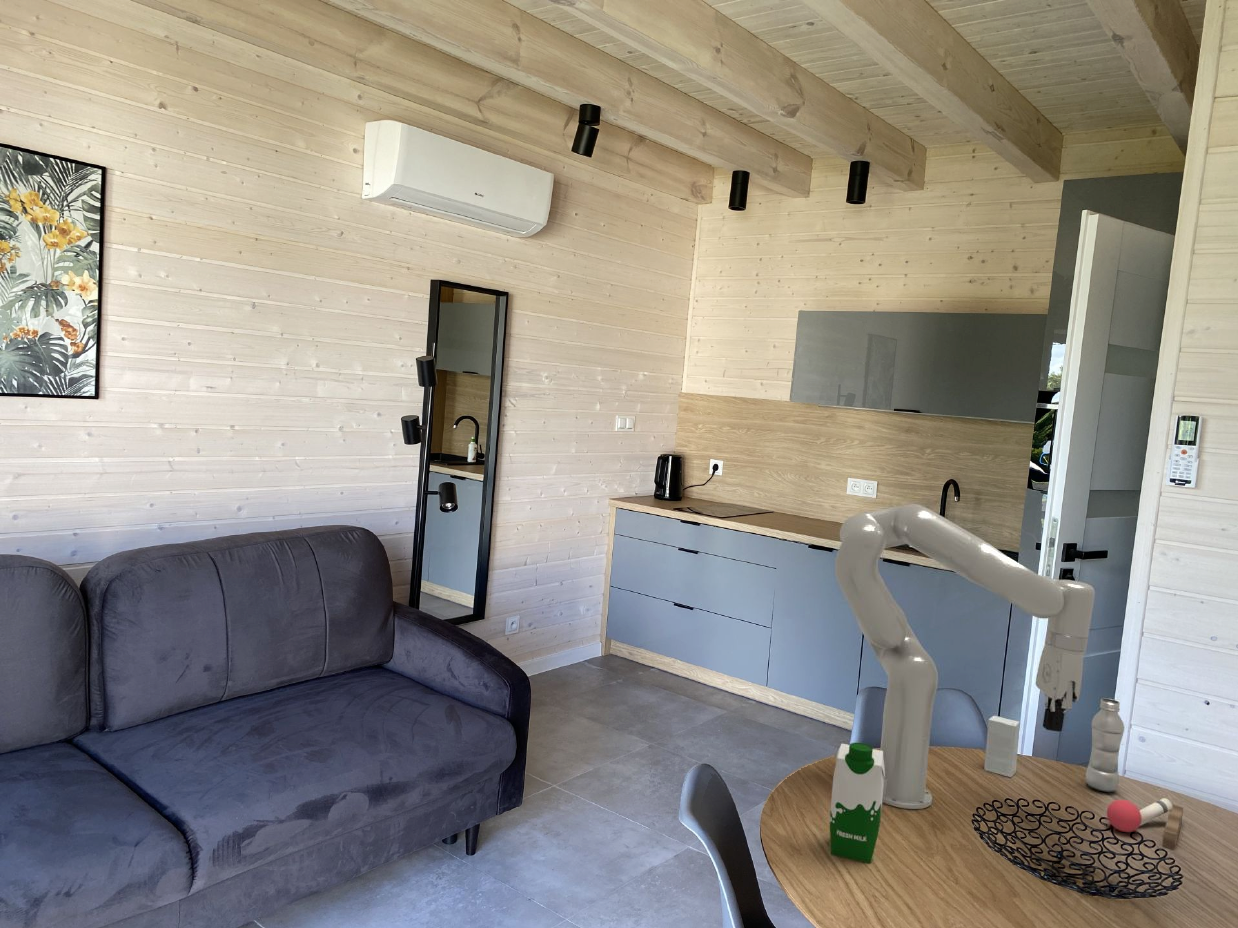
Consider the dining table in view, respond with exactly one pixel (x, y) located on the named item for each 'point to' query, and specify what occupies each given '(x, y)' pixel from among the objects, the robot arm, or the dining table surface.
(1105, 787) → the plastic bottle
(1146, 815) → the pin
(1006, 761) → the skincare box
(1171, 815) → the board
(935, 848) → the dining table surface
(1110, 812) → the ball
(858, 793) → the milk carton
